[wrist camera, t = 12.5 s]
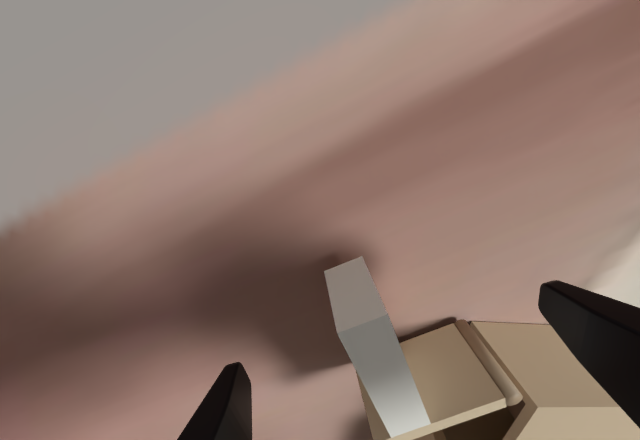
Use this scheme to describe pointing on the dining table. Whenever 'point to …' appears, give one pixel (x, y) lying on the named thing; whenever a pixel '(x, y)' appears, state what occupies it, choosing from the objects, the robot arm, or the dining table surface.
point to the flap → (412, 364)
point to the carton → (542, 392)
